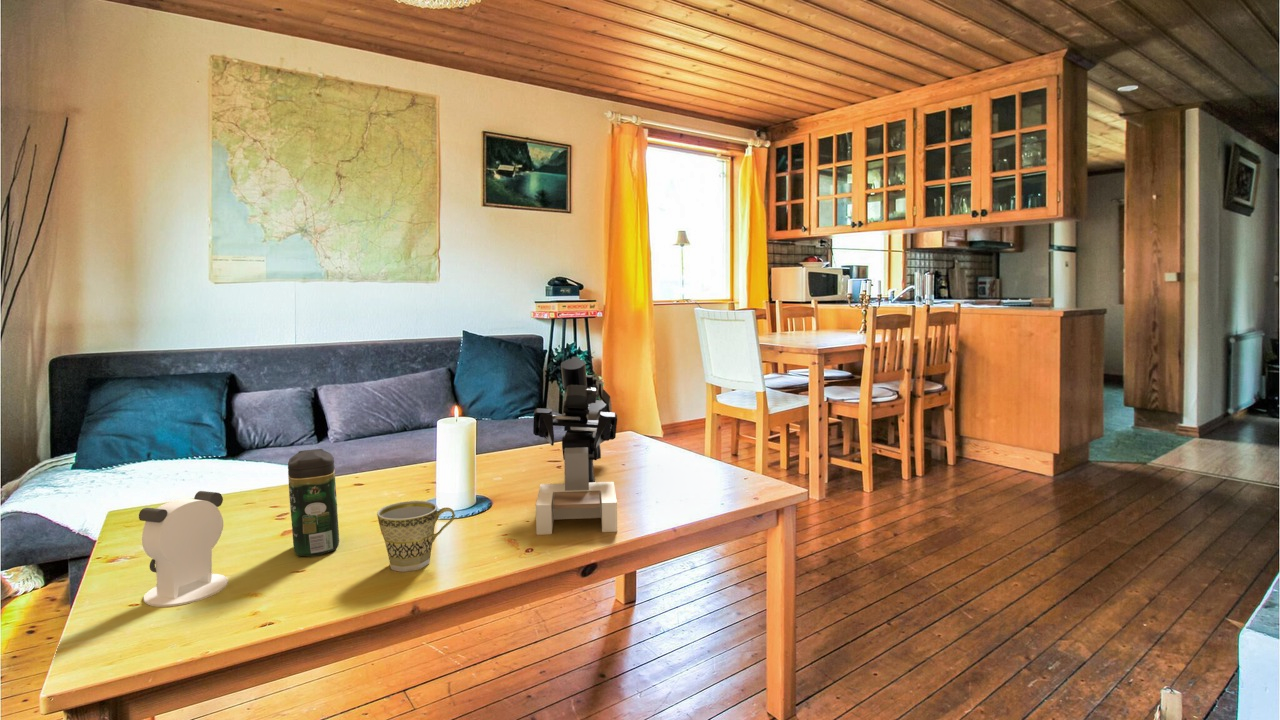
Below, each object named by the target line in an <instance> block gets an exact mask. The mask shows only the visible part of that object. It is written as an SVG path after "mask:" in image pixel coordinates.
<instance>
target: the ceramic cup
mask: <svg viewBox="0 0 1280 720" xmlns="http://www.w3.org/2000/svg"><path fill="white" fill-rule="evenodd" d="M446 512H450V513H451V515H452V516H451V519H449V521H447V522H446V523H445V524H444V525H443V526H441V528H439V530H438V532H435V525H436V523H437V521H438V520H439V517H440V516H441V515H442V514H443V513H446ZM376 517H377V521H378V525H379V528H380V531H381V535H382V538H383V540H384V543H385V547H386V552H387V556H388V561H389V565H390V569H391V570H392V571H396V572H400V573H401V572H402V573H405V572H406V573H407V572H411V571H412V572H413V571H418V570H421V569H423V568H424V567H426V566H428V565H429V564H430V563H431V554H432V549H433V543H434V542H435V540H436V538H437V537H439V535H440V534H441V533H442V531H444V529H445V528H447V527H448V525H449V526H450V525H451V523H452V522H453V521H454V519H455V511H454V510H453V509H452V508H451V507H441V508H440V509H438V505H437V504H436V503H434V502H431V501H426V500H410V501H409V500H407V501H401V502H395V503H392V504H388V505H385V506H383V507H382V508H380V509H379V510H378V511H377V513H376Z"/></svg>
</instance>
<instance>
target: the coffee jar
mask: <svg viewBox="0 0 1280 720" xmlns="http://www.w3.org/2000/svg"><path fill="white" fill-rule="evenodd" d="M334 458H335V457H334V456H333V455H332V453H331V452H328V451H326V450H324V449H322V448H316V449H307V450H299V451H298V452H297V453H296V454H294V455H292V456H291V457H290V458H289V460H288V462H287V463H288V464H287V469H288V470H287V471H288V472H287V473H288V474H287V475H288V476H287V477H288V492H289V494H288V497H289V508H290V518H291V531H292V543H293V551H294V553H295V554H296V556H300V557H301V556H302V557H303V556H304V557H305V556H306V557H317V556H321V555H324V554H326V553H329V552H333V551H335V550H336V549H338V547H339V545H340V544H339V543H340V530H339V519H338V518H339V517H338V501H337V500H338V499H337V489H336V488H337V485H336V472H335V471H336V470H335V459H334Z"/></svg>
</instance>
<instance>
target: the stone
mask: <svg viewBox="0 0 1280 720" xmlns="http://www.w3.org/2000/svg"><path fill="white" fill-rule="evenodd" d="M563 461H564V483H565V491H573V490H589V471H588V447H583V448H565V452H564V459H563Z"/></svg>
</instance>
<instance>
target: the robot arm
mask: <svg viewBox="0 0 1280 720" xmlns="http://www.w3.org/2000/svg"><path fill="white" fill-rule="evenodd" d="M560 371H561V382H562V388H563V389H564V392H565V394H564V395H565V396H564V403H563V411H562V413H563V415H561V414H560V415H558V414H553V409H552V408H544V407H543V408H541V407H540V408H539V407H538V408H535V410H534V411H533V428H532V433H533V435H534V436H539V438H543V439H545V440H546V441H547V443H549V444H550V446H555V445H554V444H555V443H554V442H555V431H554V427H555V426H556V427H564V430H563V431H564V432H565V433H564V435H562V438H561V450H562V456H563V457H562V459H563V460H564V452H565V448H583V447H588V471H589V482H596V476H595V475H594V461H598V460H601V458H602V455H601V454H602V452H601V450H602V449H601V444H602V443H604V442H609V440H611V441H612V440H615V439H616V434H617V425H618V414H617V413H616V412H613V411H612V408H613V407H612V400H611V396H610V395H609V394H608V393H609V392H607V391H606V390H605V388H604V383H603V381H598V380H597V379H596V377H595V376H594V375H593V374H591V375H589V374H587V367H586V361H585V360H584V359H581V357H580V356H571V358H569V359H566V360H564V361H562V362H561V363H560ZM597 397H599V398H600V399H597Z"/></svg>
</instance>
